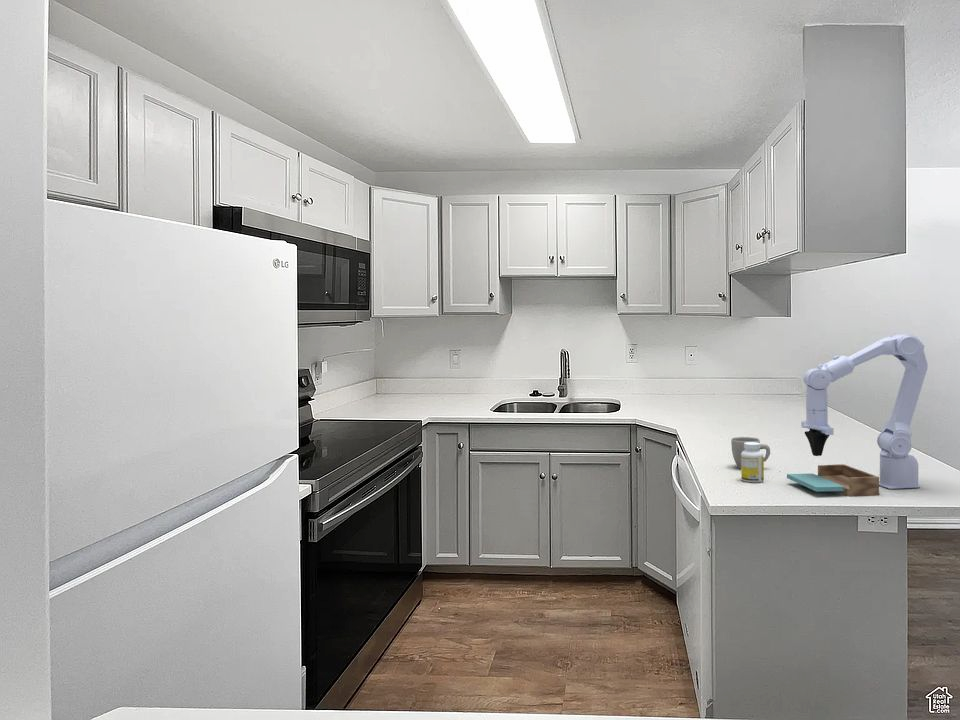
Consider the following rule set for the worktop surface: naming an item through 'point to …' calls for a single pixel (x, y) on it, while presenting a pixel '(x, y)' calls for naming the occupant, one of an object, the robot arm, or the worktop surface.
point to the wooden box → (850, 479)
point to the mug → (739, 448)
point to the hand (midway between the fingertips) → (817, 455)
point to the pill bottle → (752, 463)
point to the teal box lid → (815, 482)
